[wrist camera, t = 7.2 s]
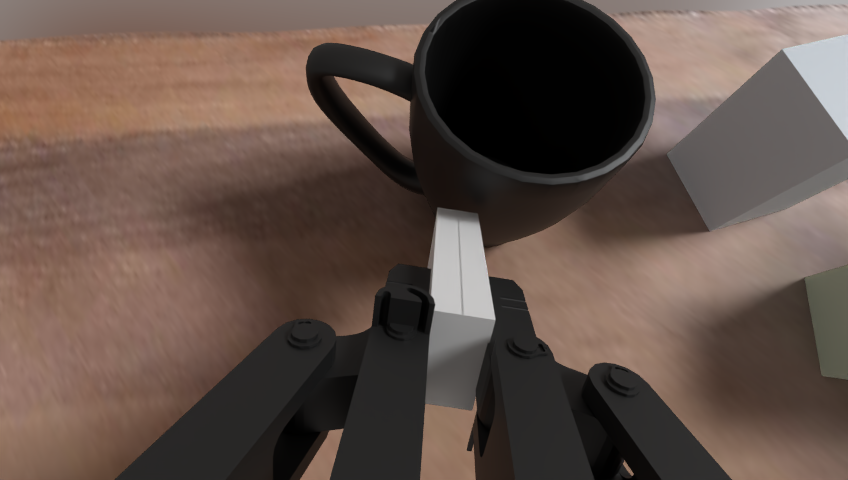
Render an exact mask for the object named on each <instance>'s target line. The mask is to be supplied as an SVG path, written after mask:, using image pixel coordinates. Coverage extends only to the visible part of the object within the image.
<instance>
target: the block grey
mask: <svg viewBox="0 0 848 480" xmlns="http://www.w3.org/2000/svg"><path fill="white" fill-rule="evenodd" d="M667 156H668V157H669V159H670V161H671V163H672V165H673V166H674V168H675V170H676V172H677V174H678V175H679V177H680V179H681V181H682V183H683V184H684V186H685V188H686V190H687V192H688V193H689V195H690V197H691V199H692V201H693V202H694V204H695V206H696V208H697V210H698V211H699V213H700V215H701V217H702V219H703V220H704V222H705V224H706V226H707V228H708V229H709V231H713V230H717V229H720V228H724V227H727V226H730V225H734V224H737V223H741V222H744V221H747V220H751V219H754V218H758V217H761V216H764V215H768V214H771V213H775V212H778V211H781V210H785V209H787V208H789V207H791V206H793V205H795V204H798V203H800V202H802V201H804V200H806V199H808V198H810V197H812V196H814V195H816V194H818V193H820V192H822V191H824V190H826V189H828V188H830V187H832V186H835V185H837V184H839V183H841V182H843V181H845V180H847V179H848V34H847V35H843V36H838V37H834V38H829V39H825V40H820V41H816V42H812V43H807V44H803V45H798V46H794V47H789V48H785V49H782V50H781V51H780V52H778V53H777V54H776V55H775V56H774V57H773V58H772V59H771V60H770V61H769V62H767V63H766V64H765V65H764V66H763V67H762V68H761V69H760V70H759V71H757V72H756V73H755V74H754V75H753V76H752V77H751V78H750V79H749V80H748V81H746V82H745V83H744V84H743V85H742V86H741V87H740V88H739V89H738V90H737V91H735V92H734V93H733V94H732V95H731V96H730V97H729V98H728V99H727V100H726V101H724V102H723V103H722V104H721V105H720V106H719V107H718V108H717V109H716V110H715V111H713V112H712V113H711V114H710V115H709V116H708V117H707V118H706V119H705V120H703V121H702V122H701V123H700V124H699V125H698V126H697V127H696V128H695V129H694V130H692V131H691V132H690V133H689V134H688V135H687V136H686V137H685V138H684V139H683V140H681V141H680V142H679V143H678V144H677V145H676V146H675V147H674V148H673V149H672V150H670V151H669V152H668V153H667Z"/></svg>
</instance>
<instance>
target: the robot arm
mask: <svg viewBox="0 0 848 480" xmlns="http://www.w3.org/2000/svg"><path fill="white" fill-rule="evenodd" d="M475 397H476V402H477V412H476V416H475V420H474V423H473V427H472V431H471V435H470V438H469V442H468V447H467V451H472V447H473V444H474V456H475V473H476V480H732V479H731V478H730V477H729V476H728V475H727V474H726V472H725V471H724V470H723V469H722V468H721V467H720V466H719V464H718V463H717V462H716V461H715V460H714V459H713V458H712V456H711V455H710V454H709V453H708V452H707V451H706V450H705V448H704V447H703V446H702V445H701V444H700V443H699V441H698V440H697V439H696V438H695V437H694V436H693V435H692V433H691V432H690V431H689V430H688V429H687V428H686V427H685V425H684V424H683V423H682V422H681V421H680V420H679V419H678V417H677V416H676V415H675V414H674V413H673V412H672V411H671V409H670V408H669V407H668V406H667V405H666V404H665V403H664V401H663V400H662V399H661V398H660V397H659V396H658V395H657V393H656V392H655V391H654V390H653V389H652V388H651V387H650V385H649V384H648V383H647V382H646V381H645V380H643V379H642V378H641V377H640V376H639V375H638V374H636V373H634V372H632V371H631V370H629V369H627V368H625V367H623V366H619V365H616V364H611V363H599V364H595V365H594V366H593V367H592V368H591V369H590V370H589V373H588V375H586V374H584V373H581V372H578V371H576V370H573V369H570V368H568V367H565V366H563V365H561V364H559V363H557V362H556V361H555V359H554V356H553V353H552V352H551V350H550V348H549V347H548V345H546V344H545V343H544V342H543V341H542V340H541V339H539V338H537V337H536V334H535V331H534V328H533V324H532V321H531V318H530V314H529V311H528V307H527V304H526V302H525V297H524V294H523V290H522V289H521V288H520V287H519V286H518V285H517V284H516V283H515V282H514V281H513V280H509V279H502V278H496V277H489V276H488V272H487V265H486V259H485V253H484V247H483V241H482V235H481V229H480V223H479V217H478V214H477V213H471V212H464V211H458V210H452V209H445V208H439V207H438V208H437V214H436V220H435V226H434V232H433V238H432V244H431V250H430V256H429V262H428V268H423V267H417V266H410V265H404V264H398V265H396V266H395V267H394V268H393V269H391V270H390V271H389V275H388V279H387V282H386V286H385V287H383V288H381V289H380V290H379V291H378V292H377V294H376V295H375V303H374V312H373V321H372V327H371V328H369V329H368V330H366V331H364V332H361V333H358V334H354V335H348V336H336V334H335V331H334V330H333V329H332V328H331V327H330V325H328V324H326V323H324V322H322V321H318V320H313V319H297V320H294V321H290V322H287V323H285V324H283V325H282V326H280V327H279V328H277V329H276V330H275V331H274V332H273V333H272V334H271V335H270V336H269V337H267V338H266V339H265V340H264V341H263V342H262V343H261V344H260V345H259V346H258V347H257V348H256V349H255V350H253V351H252V352H251V353H250V354H249V355H248V356H247V357H246V358H245V359H244V360H243V361H242V362H241V363H239V364H238V365H237V366H236V367H235V368H234V369H233V370H232V371H231V372H230V373H229V374H228V375H227V376H226V377H224V378H223V379H222V380H221V381H220V382H219V383H218V384H217V385H216V386H215V387H214V388H213V389H212V390H210V391H209V392H208V393H207V394H206V395H205V396H204V397H203V398H202V399H201V400H200V401H199V402H198V403H196V404H195V405H194V406H193V407H192V408H191V409H190V410H189V411H188V412H187V413H186V414H185V415H184V416H182V417H181V418H180V419H179V420H178V421H177V422H176V423H175V424H174V425H173V426H172V427H171V428H170V429H169V430H167V431H166V432H165V433H164V434H163V435H162V436H161V437H160V438H159V439H158V440H157V441H156V442H155V443H153V444H152V445H151V446H150V447H149V448H148V449H147V450H146V451H145V452H144V453H143V454H142V455H141V456H139V457H138V458H137V459H136V460H135V461H134V462H133V463H132V464H131V465H130V466H129V467H128V468H127V469H125V470H124V471H123V472H122V473H121V474H120V475H119V476H118V477H117V478H116V479H115V480H300V478H301V477H302V475H303V474H304V472H305V470H306V469H307V467H308V466H309V464H310V463H311V461H312V459H313V458H314V456H315V455H316V453H317V451H318V450H319V448H320V447H321V445H322V444H323V442H324V440H325V439H326V437H327V435H328V432H329V430H336V429H343V428H344V430H343V433H342V437H341V440H340V444H339V448H338V451H337V455H336V459H335V462H334V466H333V470H332V473H331V477H330V480H420V471H421V456H422V441H423V426H424V411H425V403H426V404H432V405H439V406H445V407H452V408H459V409H465V410H472V409H473V405H474V401H475ZM624 460H625V461H626V463H627V464H628V466H629V467H630V469H631V470H632V472H633V473H634V475H633V476H631V475H630V474H629V472H628V471H627V470H626V468H625V467H624V465H623V462H624Z"/></svg>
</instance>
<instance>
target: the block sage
mask: <svg viewBox="0 0 848 480" xmlns="http://www.w3.org/2000/svg"><path fill="white" fill-rule="evenodd" d="M804 279H805V284H806V290H807V296H808V301H809V307H810V313H811V318H812V324H813V330H814V335H815V341H816V347H817V353H818V358H819V364H820V370H821V375H822V376H826V377H832V378H839V379H846V380H848V265H845V266H842V267H839V268H835V269H832V270H829V271H825V272H822V273H818V274H815V275H812V276H808V277H805V278H804Z"/></svg>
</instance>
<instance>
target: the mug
mask: <svg viewBox="0 0 848 480" xmlns="http://www.w3.org/2000/svg"><path fill="white" fill-rule="evenodd" d="M306 76H307V84H308V87H309V90H310V93H311V95H312V97H313V99H314V100H315V102H316V103H317V105H318V106H319V107H320V109H321V110H322V111H323V112H324V114H325V115H326V116H327V117H328V118H329V119H330V120H331V121H332V122H333V124H334V125H335V126H336V127H337V128H338V129H339V130H340V131H341V132H342V133H343V134H344V135H345V136H346V137H347V138H348V139H349V140H350V141H351V142H352V143H353V144H354V145H355V146H356V147H357V148H358V149H359V150H360V151H361V152H363V153H364V154H365V155H366V156H367V157H368V158H369V159H370V160H371V161H372V162H373V163H374V164H375V165H376V166H377V167H378V168H379V169H380V170H381V171H382V172H384V173H385V174H386V175H387V176H388V177H389V178H391V179H392V180H393V181H394V182H396V183H397V184H399V185H400V186H402V187H404V188H405V189H407V190H410V191H412V192H415V193H418V194H423V195H425V197H426V199H427V201H428V203H429V205H430V207H431V209H432V210H433V213H434V215H435V217H436V214H437V208H438V207H439V208H445V209H452V210H458V211H464V212H471V213H477V214H478V217H479V223H480V229H481V235H482V241H483V246H484V247H487V246H496V245H500V244H503V243H506V242H510V241H514V240H518V239H521V238H523V237H526V236H529V235H532V234H535V233H537V232H540V231H542V230H544V229H546V228H548V227H550V226H552V225H554V224H556V223H557V222H559V221H560V220H562V219H563V218H565V217H566V216H568V215H569V214H571V213H572V212H574V211H575V210H577V209H578V208H580V207H581V206H582V205H584V204H585V203H587V202H588V201H589V200H590V199H591V198H592V197H593V196H594V195H595V194H596V193H597V192H598V191H599V190H600V189H601V188H602V187H603V186H604V185H605V184H606V183H607V182H608V181H609V180H610V179H611V178H612V177H613V176H614V175H615V174H616V173H617V172H618V171H619V170H620V169H621V168H622V167H623V166H624V165H625V164H626V163H627V162H628V161H629V160H630V158H631V157H632V156H633V155H634V154H635V153H636V152H637V151H638V149H639V148H640V147H641V146H642V144H643V142H644V140H645V138H646V136H647V133H648V131H649V129H650V127H651V125H652V122H653V115H654V108H655V101H656V98H655V91H654V83H653V77H652V74H651V72H650V69H649V67H648V64H647V62H646V59H645V57H644V55H643V54H642V52H641V51H640V49H639V48H638V46H637V45H636V43H635V42H634V40H633V39H632V37H631V36H630V35H629V34H628V33H627V32H626V31H625V30H624V29H623V28H622V27H621V26H620V25H619V24H618V23H617V22H616V21H615V20H614V19H612V18H611V17H609V16H608V15H606V14H605V13H604V12H602V11H601V10H599V9H598V8H596V7H595V6H593V5H591V4H589V3H587V2H584V1H583V0H456V1H454V2H453V3H452V4H450V5H449V6H448V7H447V8H445V9H444V10H443V11H441V12H440V13H439V14H438V15H437V16H436V17H435V19H434V20H433V21H432V22H431V23H430V25H429V26H428V27H427V29H426V30H425V31H424V33H423V35H422V37H421V40H420V42H419V45H418V47H417V49H416V52H415V54H414V63H413V64H410V63H408V62H405V61H402V60H400V59H397V58H394V57H391V56H388V55H385V54H381V53H378V52H375V51H371V50H368V49H364V48H360V47H355V46H351V45H345V44H339V43H324V44H321V45H319V46H317V47H315V48H313V50H312V51H311V53H310V55H309V56H308V60H307V65H306ZM334 76H336V77H342V78H347V79H351V80H355V81H358V82H362V83H365V84H369V85H372V86H375V87H378V88H380V89H383V90H386V91H388V92H390V93H393V94H395V95H397V96H400V97H402V98H404V99H406V100H408V101H410V102H411V103H410V125H409V131H410V138H411V146H412V153H413V159H414V161H412V160H410V159H408V158H407V157H405V156H404V155H402V154H401V153H399V152H398V151H397V150H396V149H395V148H394V147H392V146H391V145H390V144H389V143H388V142H387V141H386V140H385V139H384V138H383V137H382V136H381V135H380V134H379V133H378V132H377V131H376V130H375V128H374V127H373V126H372V125H371V124H370V123H369V122H368V121H367V120H366V119H365V117H364V116H363V115H362V114H361V113H360V112H359V110H358V109H357V108H356V107H355V106H354V105H353V103H352V102H351V101H350V100H349V98H348V97H347V96H346V94H345V93H344V92H343V90H342V89H341V88H340V86H339V85H338V83H337V81H336V80H335V78H334Z"/></svg>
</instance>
